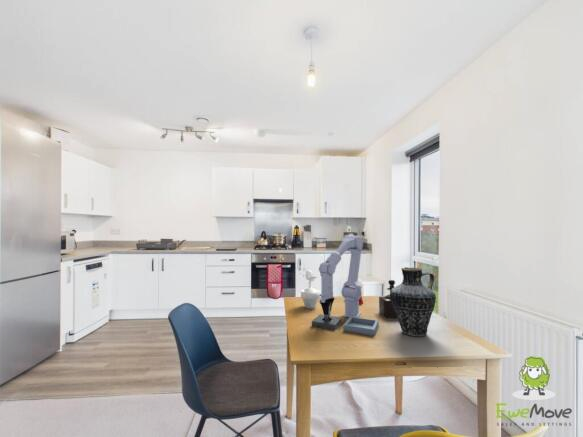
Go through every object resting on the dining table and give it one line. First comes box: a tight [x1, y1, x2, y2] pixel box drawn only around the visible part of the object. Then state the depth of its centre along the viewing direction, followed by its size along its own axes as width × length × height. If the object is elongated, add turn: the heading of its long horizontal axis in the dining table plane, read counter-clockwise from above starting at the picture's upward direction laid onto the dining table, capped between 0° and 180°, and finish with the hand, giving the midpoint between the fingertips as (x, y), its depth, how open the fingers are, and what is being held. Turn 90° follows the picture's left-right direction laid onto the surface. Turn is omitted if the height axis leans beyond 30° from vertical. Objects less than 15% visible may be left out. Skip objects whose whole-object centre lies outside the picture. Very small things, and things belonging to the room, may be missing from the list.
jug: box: [389, 266, 437, 337], centre depth 136 cm, size 21×19×30 cm
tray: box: [343, 316, 380, 337], centre depth 141 cm, size 14×14×3 cm
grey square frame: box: [311, 313, 343, 331], centre depth 147 cm, size 12×12×2 cm
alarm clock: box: [358, 295, 364, 306], centre depth 188 cm, size 10×6×15 cm
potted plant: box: [299, 268, 321, 309], centre depth 176 cm, size 13×12×25 cm
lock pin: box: [323, 303, 331, 321], centre depth 147 cm, size 4×4×9 cm
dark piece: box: [378, 279, 398, 319], centre depth 164 cm, size 16×11×18 cm
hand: (327, 313), depth 147 cm, fingers closed on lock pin, 4 cm apart
